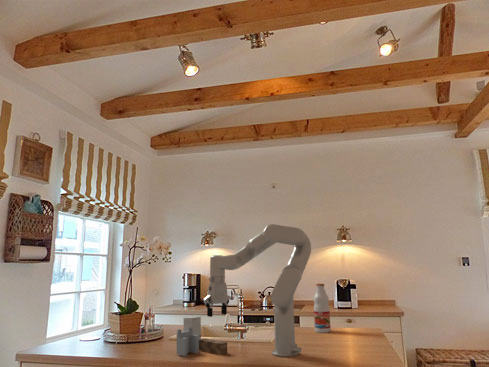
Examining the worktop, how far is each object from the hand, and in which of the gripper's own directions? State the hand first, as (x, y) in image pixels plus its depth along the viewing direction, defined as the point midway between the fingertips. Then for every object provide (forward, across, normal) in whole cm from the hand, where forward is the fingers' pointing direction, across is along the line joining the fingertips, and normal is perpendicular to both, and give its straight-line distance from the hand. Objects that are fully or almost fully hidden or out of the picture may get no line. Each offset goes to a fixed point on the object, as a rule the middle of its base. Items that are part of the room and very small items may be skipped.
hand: (217, 315), depth 202 cm
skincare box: (+18, +2, +21) cm, 28 cm away
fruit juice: (+16, +75, -13) cm, 78 cm away
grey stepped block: (+18, -10, +10) cm, 23 cm away
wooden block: (+18, 0, +2) cm, 18 cm away
